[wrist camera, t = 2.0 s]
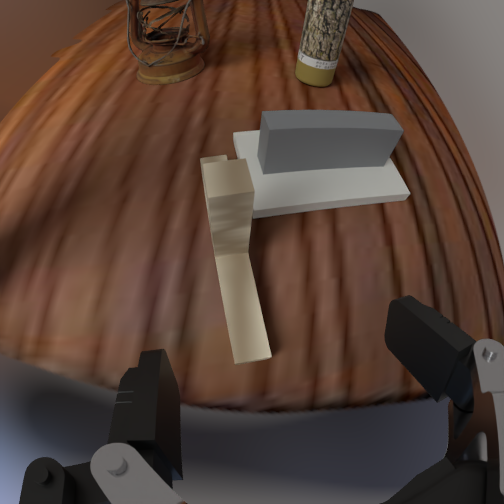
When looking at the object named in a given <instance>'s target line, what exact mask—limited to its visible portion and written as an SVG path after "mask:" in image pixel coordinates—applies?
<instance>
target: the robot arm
mask: <svg viewBox="0 0 504 504" xmlns="http://www.w3.org/2000/svg"><path fill="white" fill-rule="evenodd" d="M385 342H386V345H387V347H388V349H389V350H390V351H391V352H392V353H393V354H394V356H395V357H396V358H397V359H398V360H399V361H400V362H401V363H402V364H403V365H404V366H405V367H406V369H407V370H408V371H409V372H410V373H411V374H412V375H413V376H414V377H415V378H416V380H417V381H418V382H419V383H420V384H421V385H422V386H423V387H424V388H425V390H426V391H427V392H428V393H429V394H430V395H431V396H432V397H433V399H434V400H435V401H436V402H437V403H438V402H440V401H441V400H443V399H445V398H446V397H448V396H449V397H450V398H451V400H450V402H449V405H448V447H447V451H446V453H445V456H444V458H443V459H442V460H441V461H439V462H438V463H436V464H435V465H433V466H431V467H430V468H428V469H427V470H425V471H423V472H422V473H420V474H418V475H417V476H416V477H415V478H413V479H412V480H411V481H410V482H409V483H408V484H407V485H406V486H404V487H403V488H402V489H401V490H400V491H399V492H397V493H396V494H395V495H394V496H393V497H391V498H390V499H389V500H388V501H386V502H384V503H381V504H504V346H503V345H502V344H500V343H499V342H497V341H495V340H492V339H481V340H479V341H477V342H476V341H475V340H474V339H473V338H471V337H470V336H469V335H467V334H466V333H465V332H464V331H462V330H461V329H460V328H459V327H457V326H456V325H455V324H453V323H450V321H449V320H448V319H447V318H445V317H443V315H442V314H440V313H439V312H438V311H436V310H435V309H433V308H431V307H428V306H426V305H423V304H422V303H420V302H419V301H418V300H416V299H415V298H414V297H412V296H410V295H408V296H404V297H401V298H398V299H395V300H392V301H391V302H390V305H389V310H388V317H387V323H386V329H385ZM172 480H183V471H182V453H181V426H180V394H179V388H178V384H177V381H176V378H175V376H174V373H173V370H172V368H171V365H170V362H169V359H168V356H167V354H166V351H165V350H164V349H158V350H150V351H142V352H141V354H140V359H139V364H138V367H135V368H129V369H128V370H127V372H126V373H125V374H124V376H123V377H122V378H121V380H120V385H119V389H118V394H117V398H116V404H115V407H114V412H113V417H112V422H111V428H110V433H109V439H108V444H107V445H105V446H103V447H101V448H100V449H99V450H98V451H96V453H95V454H94V456H93V457H92V460H91V461H90V462H87V463H82V464H78V465H73V466H67V467H62V465H60V464H59V463H58V462H57V461H56V460H54V459H52V458H48V457H42V458H38V459H36V460H34V461H33V462H32V463H30V465H29V466H28V467H27V469H26V472H25V476H24V480H23V485H22V491H21V496H20V501H19V504H187V503H186V502H185V501H183V499H181V498H180V497H179V496H178V495H177V494H176V493H175V492H174V491H173V487H172Z"/></svg>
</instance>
